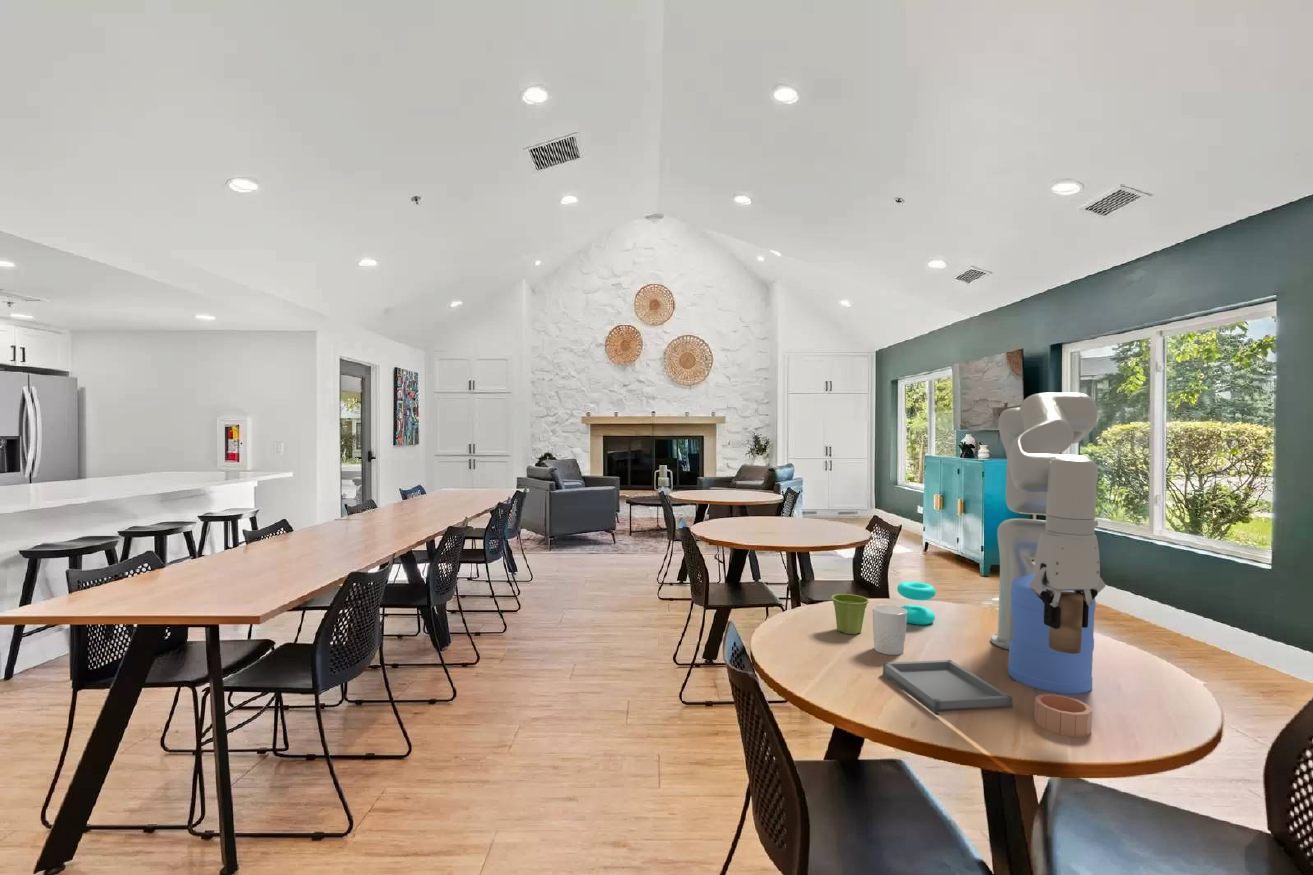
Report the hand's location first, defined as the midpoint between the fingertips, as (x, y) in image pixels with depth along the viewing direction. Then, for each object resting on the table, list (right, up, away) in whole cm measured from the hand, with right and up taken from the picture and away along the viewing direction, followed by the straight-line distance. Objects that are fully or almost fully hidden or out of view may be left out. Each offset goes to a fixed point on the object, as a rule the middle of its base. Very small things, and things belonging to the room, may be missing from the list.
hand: (1065, 624), depth 121 cm
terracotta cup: (-1, -19, 0) cm, 19 cm away
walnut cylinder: (0, -4, 0) cm, 4 cm away
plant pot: (-24, -17, +54) cm, 61 cm away
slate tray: (-15, -18, +16) cm, 29 cm away
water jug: (+10, -19, +22) cm, 31 cm away
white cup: (-18, -18, +40) cm, 47 cm away
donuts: (-2, -17, +65) cm, 67 cm away
